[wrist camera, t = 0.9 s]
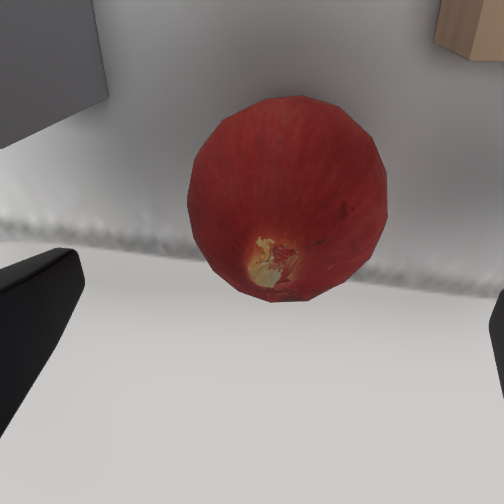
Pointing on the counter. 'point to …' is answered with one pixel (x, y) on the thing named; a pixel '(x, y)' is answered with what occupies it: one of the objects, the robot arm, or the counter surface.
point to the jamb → (46, 64)
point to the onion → (287, 198)
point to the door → (472, 29)
